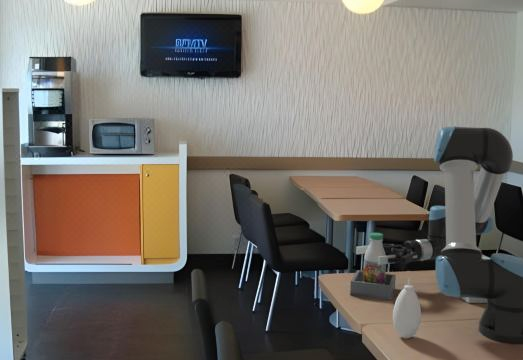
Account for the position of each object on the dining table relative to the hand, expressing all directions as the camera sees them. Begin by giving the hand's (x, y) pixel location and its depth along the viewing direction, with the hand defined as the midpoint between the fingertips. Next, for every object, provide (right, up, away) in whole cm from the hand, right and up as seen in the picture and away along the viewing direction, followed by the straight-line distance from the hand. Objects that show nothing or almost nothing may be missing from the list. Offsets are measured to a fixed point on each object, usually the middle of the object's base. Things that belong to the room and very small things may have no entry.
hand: (367, 255), depth 206 cm
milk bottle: (+3, -12, +3) cm, 13 cm away
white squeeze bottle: (+5, -19, -36) cm, 41 cm away
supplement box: (+37, -15, -1) cm, 40 cm away
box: (+3, -13, +3) cm, 14 cm away
